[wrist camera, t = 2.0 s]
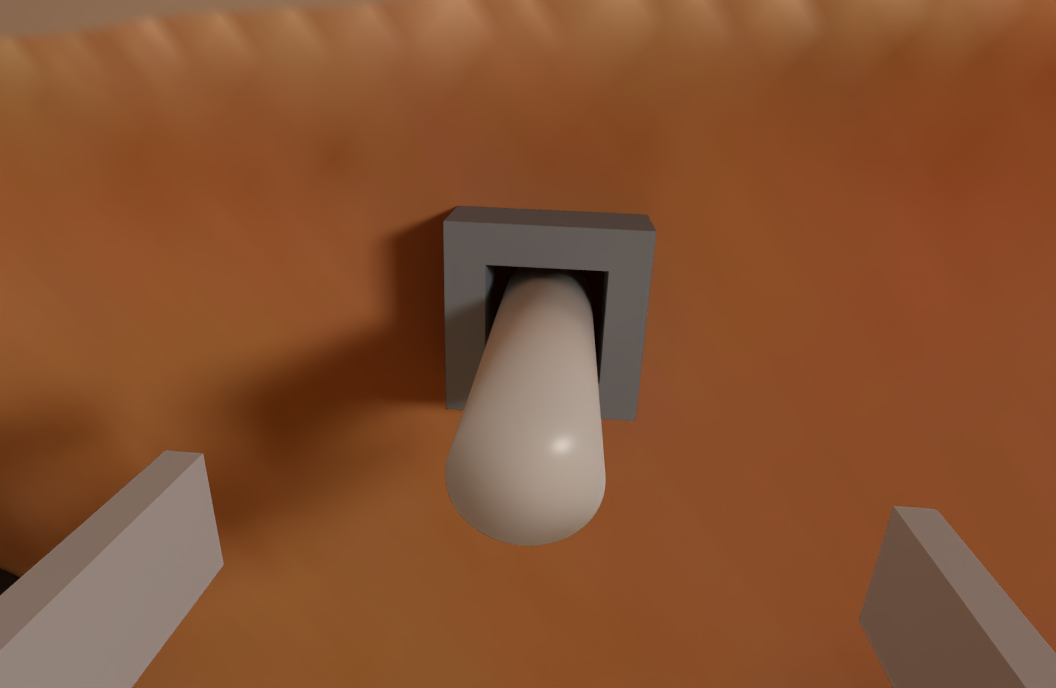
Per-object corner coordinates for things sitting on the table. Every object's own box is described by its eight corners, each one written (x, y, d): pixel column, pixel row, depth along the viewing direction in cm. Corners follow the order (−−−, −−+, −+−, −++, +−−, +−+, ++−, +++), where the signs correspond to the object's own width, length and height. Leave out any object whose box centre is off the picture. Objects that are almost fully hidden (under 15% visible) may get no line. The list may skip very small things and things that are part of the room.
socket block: (459, 376, 28) (446, 408, 25) (457, 206, 25) (443, 221, 22) (629, 387, 28) (635, 420, 25) (647, 214, 25) (656, 231, 22)
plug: (503, 338, 27) (446, 540, 15) (504, 255, 26) (443, 403, 14) (588, 343, 27) (599, 550, 15) (594, 260, 26) (611, 414, 14)
